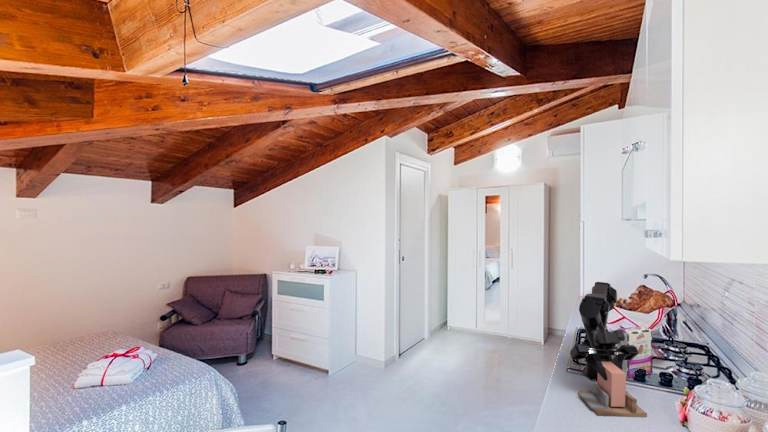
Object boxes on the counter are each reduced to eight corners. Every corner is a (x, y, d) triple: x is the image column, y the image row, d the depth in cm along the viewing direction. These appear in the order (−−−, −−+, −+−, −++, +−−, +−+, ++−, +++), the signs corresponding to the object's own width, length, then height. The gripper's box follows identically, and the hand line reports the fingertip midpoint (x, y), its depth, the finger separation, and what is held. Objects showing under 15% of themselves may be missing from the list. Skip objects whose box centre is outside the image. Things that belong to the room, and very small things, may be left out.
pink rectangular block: (597, 392, 118) (597, 361, 118) (610, 392, 118) (610, 361, 117) (611, 406, 110) (611, 373, 110) (625, 406, 110) (625, 373, 109)
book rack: (576, 394, 120) (576, 379, 120) (622, 395, 120) (623, 380, 119) (595, 415, 108) (595, 398, 108) (647, 417, 108) (647, 400, 107)
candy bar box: (639, 368, 139) (640, 325, 138) (652, 374, 134) (653, 329, 133) (615, 372, 136) (616, 328, 135) (627, 378, 131) (628, 332, 130)
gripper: (574, 319, 117) (591, 369, 107) (636, 320, 116) (659, 370, 106) (563, 334, 126) (578, 383, 115) (620, 335, 125) (640, 384, 114)
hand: (613, 380), depth 112 cm, fingers closed on pink rectangular block, 4 cm apart
